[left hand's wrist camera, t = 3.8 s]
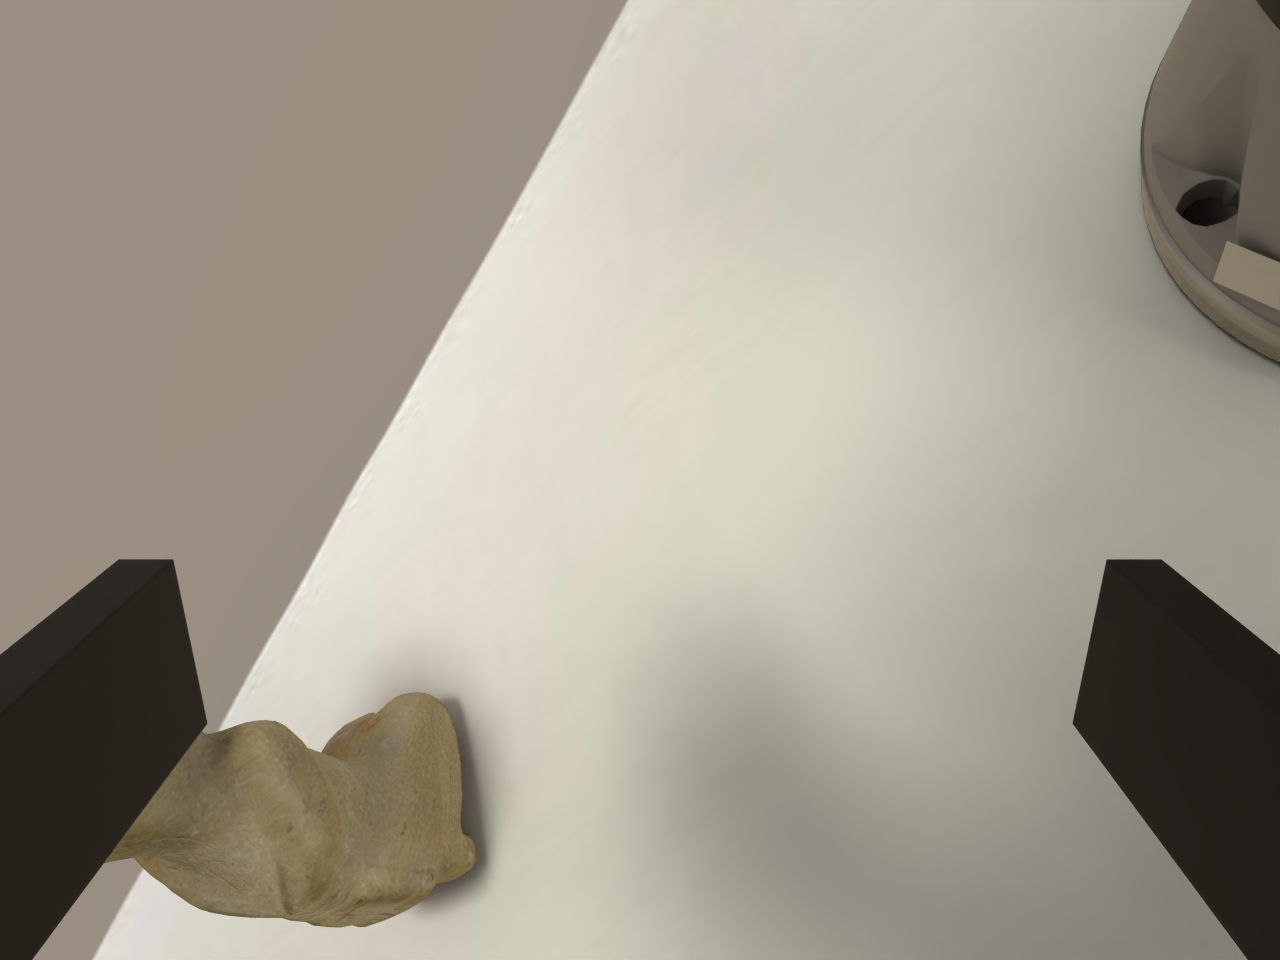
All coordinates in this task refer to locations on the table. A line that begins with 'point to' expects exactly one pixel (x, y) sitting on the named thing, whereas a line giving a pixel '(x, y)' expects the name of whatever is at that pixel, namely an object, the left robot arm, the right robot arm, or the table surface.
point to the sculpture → (311, 819)
